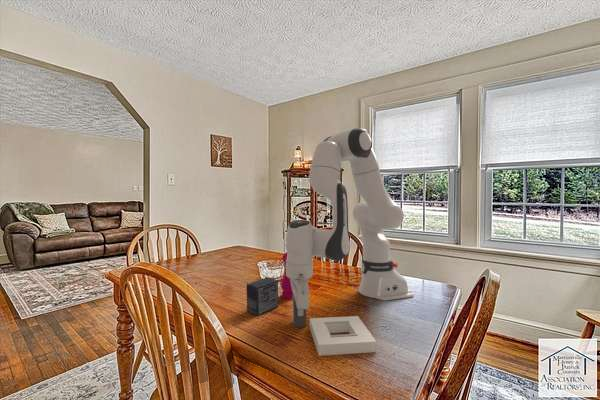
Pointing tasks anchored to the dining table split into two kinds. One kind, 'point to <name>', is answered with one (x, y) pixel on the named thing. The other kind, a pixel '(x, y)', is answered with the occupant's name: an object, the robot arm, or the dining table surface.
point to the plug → (298, 320)
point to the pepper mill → (286, 283)
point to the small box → (262, 296)
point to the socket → (341, 336)
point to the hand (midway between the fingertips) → (299, 311)
